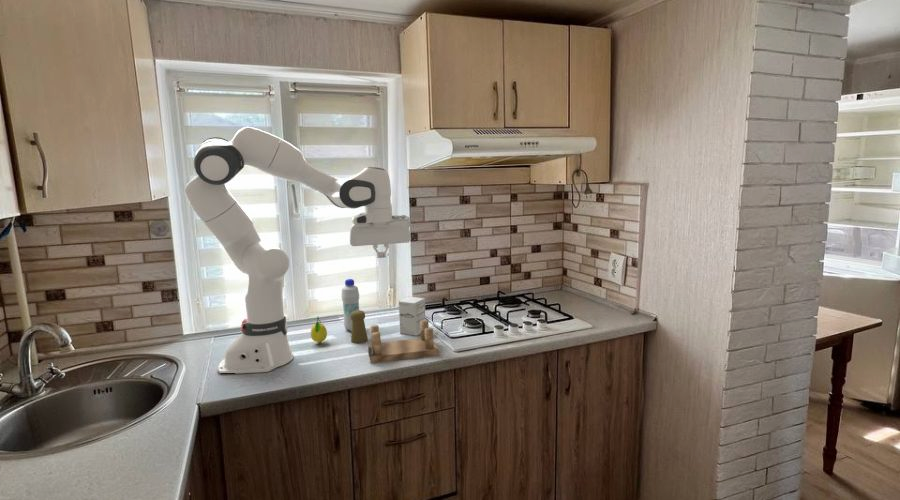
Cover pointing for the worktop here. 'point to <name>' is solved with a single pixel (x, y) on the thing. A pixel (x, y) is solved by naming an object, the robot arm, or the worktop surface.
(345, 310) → the bottle
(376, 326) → the wooden peg board
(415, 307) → the supplement box
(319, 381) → the worktop surface
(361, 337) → the cork
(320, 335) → the lemon
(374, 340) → the folding leg
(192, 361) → the worktop surface
